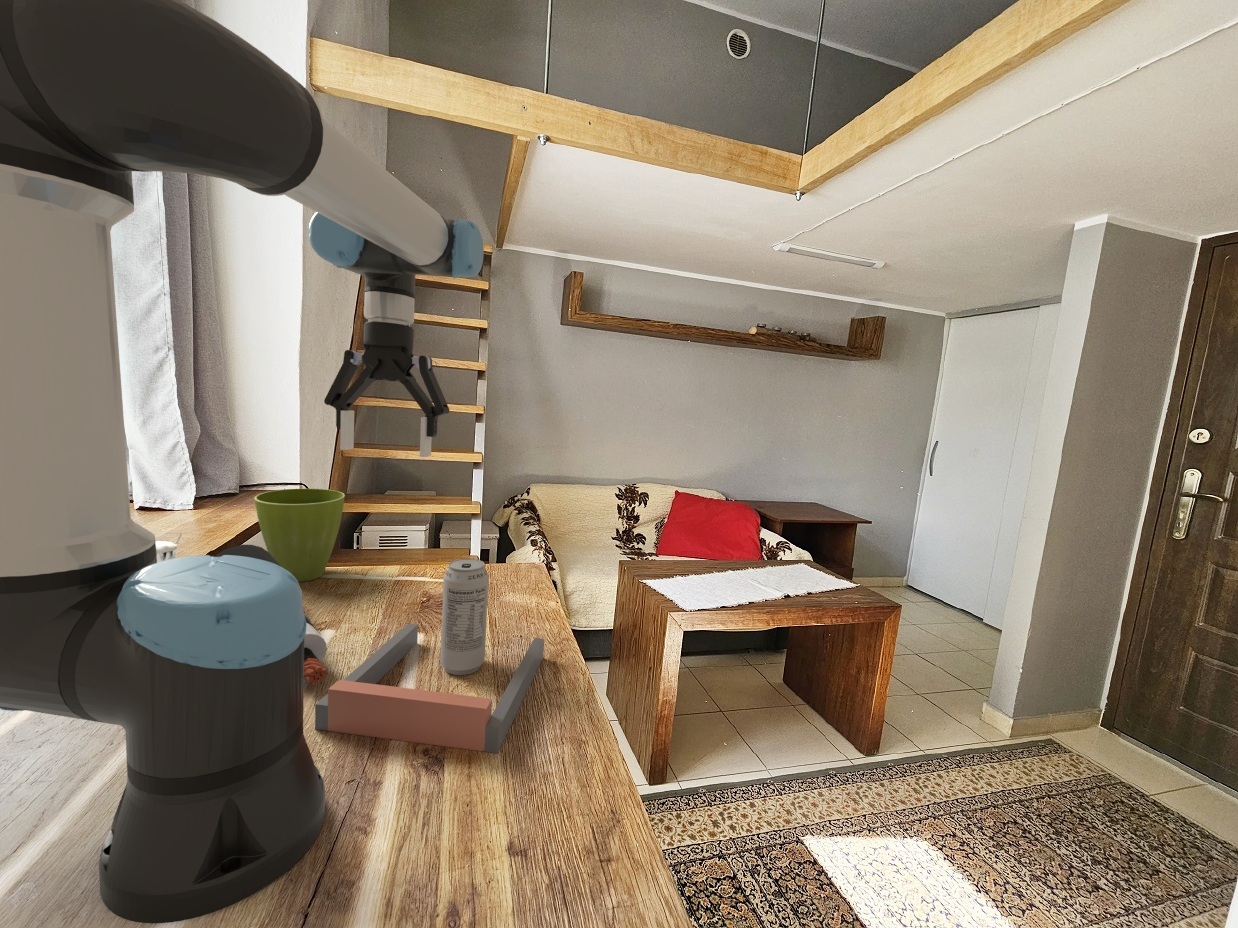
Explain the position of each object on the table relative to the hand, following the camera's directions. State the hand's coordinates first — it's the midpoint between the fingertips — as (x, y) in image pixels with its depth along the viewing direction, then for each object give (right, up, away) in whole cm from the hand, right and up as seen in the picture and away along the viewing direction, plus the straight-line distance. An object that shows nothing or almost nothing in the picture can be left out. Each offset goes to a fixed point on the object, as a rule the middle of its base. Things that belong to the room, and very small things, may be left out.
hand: (386, 452), depth 91 cm
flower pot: (-23, -24, +15) cm, 37 cm away
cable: (-11, -28, -12) cm, 33 cm away
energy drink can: (+17, -31, -14) cm, 38 cm away
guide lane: (+16, -31, -20) cm, 40 cm away
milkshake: (-39, -24, +2) cm, 46 cm away
